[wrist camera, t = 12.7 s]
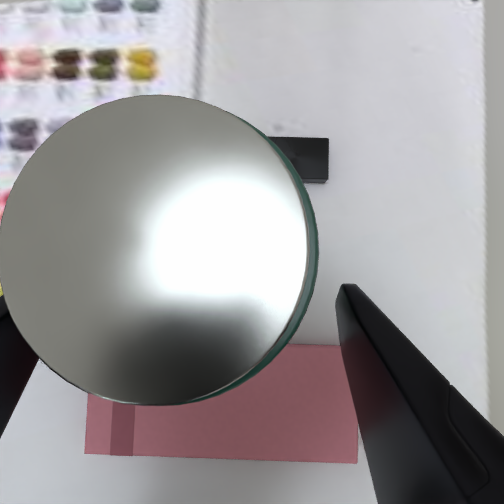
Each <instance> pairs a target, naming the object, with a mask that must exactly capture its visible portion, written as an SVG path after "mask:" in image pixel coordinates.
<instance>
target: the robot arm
mask: <svg viewBox="0 0 504 504" xmlns="http://www.w3.org/2000/svg"><path fill="white" fill-rule="evenodd" d="M335 308H336V316H337V324H338V332H339V340H340V348H341V354H342V359H343V363H344V367H345V371H346V375H347V379H348V383H349V388H350V392H351V396H352V400H353V404H354V408H355V412H356V416H357V420H358V424H359V428H360V432H361V437H362V441H363V445H364V449H365V453H366V457H367V461H368V465H369V469H370V473H371V477H372V481H373V486H374V490H375V494H376V498H377V502H378V504H504V436H503V435H502V434H501V433H500V432H499V431H498V430H496V429H495V428H494V427H493V426H492V425H491V424H490V423H489V422H488V421H487V420H486V419H485V418H484V417H483V416H482V415H481V414H480V413H479V412H478V411H477V410H476V409H475V408H474V407H473V406H472V405H471V404H470V403H469V402H468V401H467V400H466V399H465V398H464V397H463V396H462V395H461V394H460V393H459V392H458V390H457V389H456V388H455V387H454V386H453V385H450V383H449V381H448V380H447V379H446V378H445V377H444V376H443V375H442V374H441V373H440V372H439V371H438V370H437V369H436V368H435V367H434V365H433V364H432V363H431V362H430V361H429V360H428V359H427V358H426V357H425V356H424V355H423V354H422V353H421V352H420V351H419V350H418V349H417V348H416V347H415V346H414V345H413V343H412V342H411V341H410V340H409V339H408V338H407V337H406V336H405V335H404V334H403V333H402V332H401V331H400V330H399V329H398V328H397V327H396V326H395V325H394V324H393V323H392V321H391V320H390V319H389V318H388V317H387V316H386V315H385V314H384V313H383V312H382V311H381V310H380V309H379V308H378V307H377V306H376V305H375V304H374V303H373V302H372V300H371V299H370V298H369V297H368V296H367V295H366V294H365V293H364V292H363V291H362V290H361V289H360V288H359V287H358V286H357V285H356V284H342V285H341V286H340V289H339V292H338V295H337V298H336V303H335ZM38 360H39V357H38V356H37V355H36V354H35V353H34V352H33V351H32V349H31V348H30V347H29V345H28V344H27V343H26V341H25V340H24V339H23V337H22V336H21V334H20V332H19V330H18V329H17V327H16V325H15V323H14V321H13V320H12V317H11V315H10V312H9V310H8V307H7V305H6V302H5V299H4V295H2V296H1V297H0V438H1V436H2V434H3V432H4V430H5V428H6V426H7V424H8V422H9V419H10V417H11V415H12V413H13V411H14V409H15V407H16V405H17V403H18V401H19V399H20V397H21V395H22V393H23V391H24V389H25V387H26V384H27V382H28V380H29V378H30V376H31V374H32V372H33V370H34V368H35V366H36V364H37V362H38Z"/></svg>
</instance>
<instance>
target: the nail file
mask: <svg viewBox="0 0 504 504" xmlns="http://www.w3.org/2000/svg"><path fill="white" fill-rule="evenodd" d="M268 138H269V139H270V140H271V141H272V142H273V143H275V144H276V145H277V146H278V148H279V149H280V150H281V151H282V152H283V153H284V155H285V156H286V157H287V158H288V159H289V160H290V162H291V164H292V165H293V167H294V168H295V170H296V171H297V173H298V174H299V176H300V178H301V180H302V182H308V183H325V182H326V181H327V180H328V162H329V138H303V137H268Z"/></svg>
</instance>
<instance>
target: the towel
mask: <svg viewBox="0 0 504 504" xmlns="http://www.w3.org/2000/svg"><path fill="white" fill-rule="evenodd" d="M85 454H107V455H118V456H133V455H134V456H161V457H189V458H216V459H244V460H271V461H298V462H326V463H353V464H357V454H358V420H357V416H356V412H355V408H354V404H353V400H352V396H351V392H350V388H349V383H348V379H347V375H346V371H345V367H344V363H343V359H342V354H341V348H340V346H336V345H305V344H287V345H286V346H285V348H284V349H283V350H282V351H281V352H280V353H279V354H278V355H277V356H276V358H275V359H274V360H273V361H272V362H271V363H270V364H269V365H267V366H266V367H265V368H264V369H263V370H261V371H260V372H259V373H258V374H257V375H255V376H254V377H252V378H251V379H249V380H248V381H246V382H245V383H243V384H241V385H240V386H238V387H236V388H234V389H232V390H230V391H228V392H226V393H223V394H221V395H219V396H216V397H213V398H210V399H206V400H203V401H200V402H195V403H189V404H183V405H175V406H140V405H130V404H122V403H118V402H114V401H110V400H106V399H103V398H100V397H97V396H95V395H92V394H90V393H88V404H87V420H86V436H85Z"/></svg>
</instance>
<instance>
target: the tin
mask: <svg viewBox="0 0 504 504" xmlns="http://www.w3.org/2000/svg"><path fill="white" fill-rule="evenodd" d="M318 260H319V242H318V230H317V224H316V219H315V213H314V210H313V207H312V204H311V201H310V198H309V195H308V192H307V190H306V188H305V186H304V184H303V182H302V180H301V178H300V176H299V174H298V173H297V171H296V170H295V168H294V167H293V165H292V164H291V162H290V160H289V159H288V158H287V157H286V156H285V155H284V153H283V152H282V151H281V150H280V149H279V148H278V146H277V145H276V144H275V143H273V142H272V141H271V140H270V139H269V138H268V137H267V136H266V135H265V134H264V133H262V132H261V131H260V130H258V129H257V128H255V127H254V126H252V125H251V124H249V123H248V122H247V121H245V120H243V119H241V118H239V117H237V116H235V115H233V114H231V113H229V112H227V111H224V110H222V109H220V108H218V107H216V106H213V105H210V104H207V103H205V102H202V101H199V100H194V99H190V98H185V97H181V96H170V95H140V96H134V97H128V98H122V99H119V100H115V101H112V102H108V103H105V104H102V105H100V106H97V107H95V108H93V109H91V110H88V111H86V112H84V113H82V114H81V115H79V116H77V117H76V118H74V119H72V120H71V121H69V122H67V123H66V124H65V125H63V126H62V127H61V128H59V129H58V130H57V131H56V132H54V133H53V134H52V135H51V136H50V137H49V138H48V139H47V140H46V141H45V142H44V143H43V144H42V145H41V146H40V147H39V148H38V149H37V150H36V151H35V153H34V154H33V155H32V156H31V158H30V159H29V160H28V162H27V163H26V164H25V166H24V167H23V169H22V171H21V173H20V174H19V176H18V178H17V179H16V181H15V183H14V185H13V188H12V190H11V192H10V195H9V197H8V199H7V202H6V205H5V209H4V212H3V216H2V219H1V225H0V283H1V287H2V291H3V295H4V299H5V302H6V305H7V307H8V310H9V312H10V315H11V317H12V320H13V321H14V323H15V325H16V327H17V329H18V330H19V332H20V334H21V336H22V337H23V339H24V340H25V341H26V343H27V344H28V345H29V347H30V348H31V349H32V351H33V352H34V353H35V354H36V355H37V356H38V357H39V358H40V359H41V360H42V361H43V362H44V363H45V364H46V365H47V366H48V367H49V368H50V369H51V370H52V371H53V372H55V373H56V374H57V375H59V376H60V377H61V378H63V379H64V380H65V381H67V382H69V383H70V384H72V385H74V386H76V387H77V388H79V389H81V390H83V391H85V392H87V393H90V394H92V395H95V396H97V397H100V398H103V399H106V400H110V401H114V402H118V403H122V404H130V405H140V406H175V405H183V404H189V403H195V402H200V401H203V400H206V399H210V398H213V397H216V396H219V395H221V394H223V393H226V392H228V391H230V390H232V389H234V388H236V387H238V386H240V385H241V384H243V383H245V382H246V381H248V380H249V379H251V378H252V377H254V376H255V375H257V374H258V373H259V372H260V371H261V370H263V369H264V368H265V367H266V366H267V365H269V364H270V363H271V362H272V361H273V360H274V359H275V358H276V356H277V355H278V354H279V353H280V352H281V351H282V350H283V349H284V348H285V346H286V345H287V344H288V342H289V341H290V339H291V338H292V336H293V335H294V333H295V332H296V331H297V329H298V327H299V325H300V323H301V321H302V319H303V317H304V315H305V313H306V311H307V308H308V306H309V303H310V300H311V297H312V294H313V291H314V286H315V282H316V277H317V271H318Z"/></svg>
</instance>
